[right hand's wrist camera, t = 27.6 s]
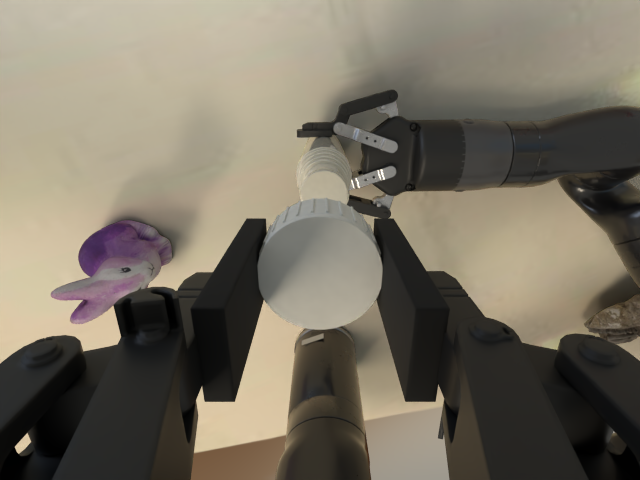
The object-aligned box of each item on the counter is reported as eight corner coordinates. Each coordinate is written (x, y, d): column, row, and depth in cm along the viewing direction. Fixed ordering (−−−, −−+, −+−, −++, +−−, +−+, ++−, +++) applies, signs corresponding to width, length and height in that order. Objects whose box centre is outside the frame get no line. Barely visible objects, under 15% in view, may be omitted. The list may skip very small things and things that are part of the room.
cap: (343, 313, 15) (346, 348, 13) (248, 272, 15) (235, 302, 13) (396, 226, 14) (409, 250, 12) (293, 176, 13) (287, 191, 11)
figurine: (190, 246, 49) (138, 304, 35) (143, 288, 52) (77, 357, 38) (137, 196, 47) (59, 236, 33) (90, 242, 49) (-2, 297, 35)
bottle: (302, 166, 45) (286, 223, 24) (306, 129, 44) (292, 154, 22) (338, 171, 46) (353, 231, 24) (344, 133, 44) (364, 163, 23)
